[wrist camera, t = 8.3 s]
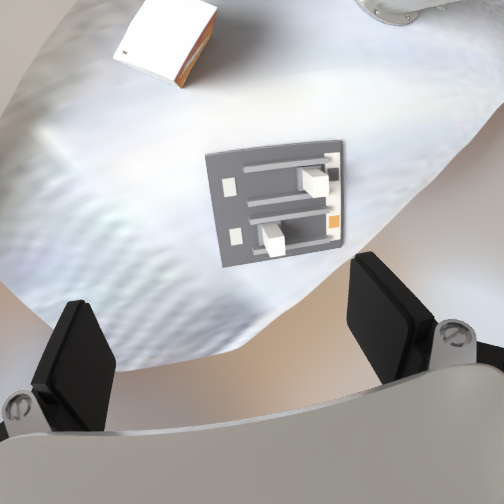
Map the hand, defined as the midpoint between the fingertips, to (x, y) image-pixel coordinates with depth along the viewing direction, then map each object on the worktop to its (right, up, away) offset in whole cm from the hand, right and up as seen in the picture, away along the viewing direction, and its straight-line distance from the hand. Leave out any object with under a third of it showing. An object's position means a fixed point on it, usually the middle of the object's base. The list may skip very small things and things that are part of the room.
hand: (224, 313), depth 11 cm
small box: (-8, +27, +22) cm, 35 cm away
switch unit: (+5, +9, +33) cm, 34 cm away
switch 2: (+8, +12, +31) cm, 34 cm away
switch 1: (+3, +5, +33) cm, 34 cm away
